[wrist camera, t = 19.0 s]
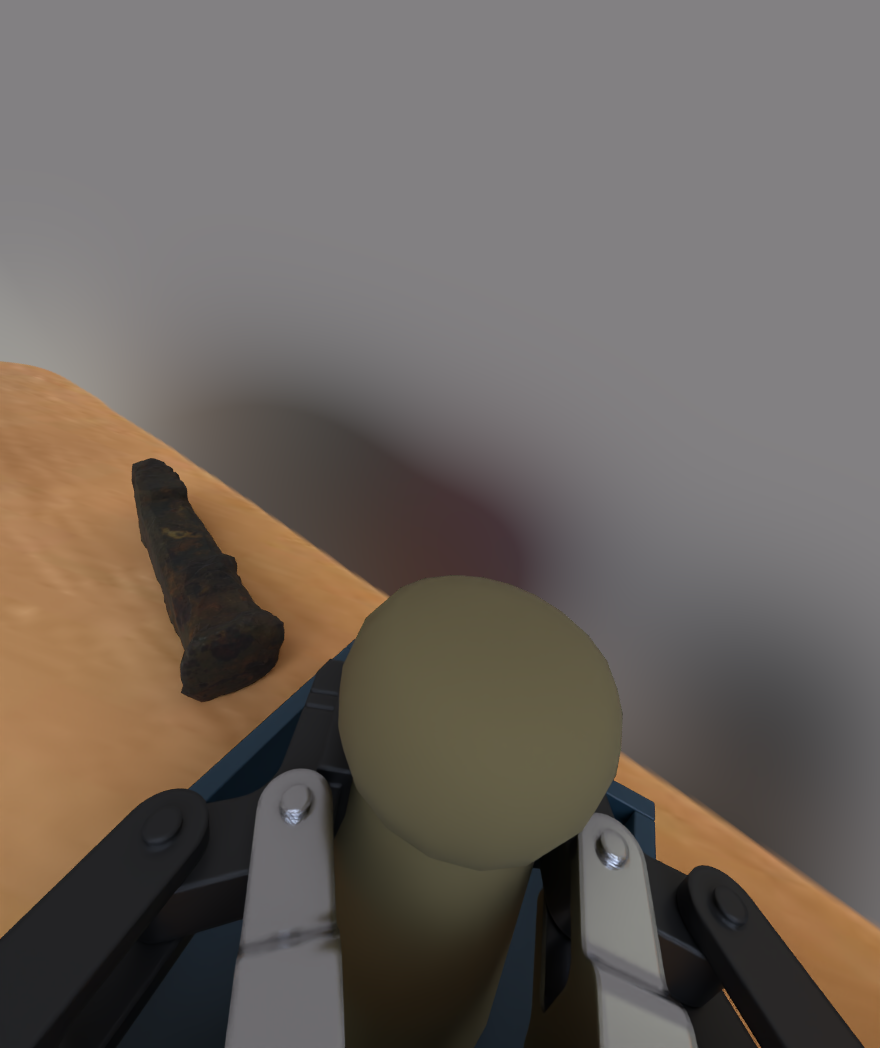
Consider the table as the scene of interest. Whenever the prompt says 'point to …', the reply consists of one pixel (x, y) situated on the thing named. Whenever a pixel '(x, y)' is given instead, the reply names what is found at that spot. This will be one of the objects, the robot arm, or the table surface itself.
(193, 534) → the rusty railroad spike
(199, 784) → the caddy
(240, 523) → the table surface
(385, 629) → the cork
